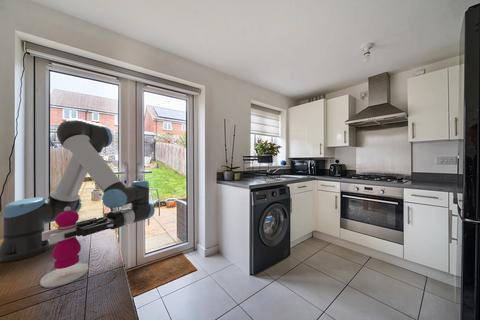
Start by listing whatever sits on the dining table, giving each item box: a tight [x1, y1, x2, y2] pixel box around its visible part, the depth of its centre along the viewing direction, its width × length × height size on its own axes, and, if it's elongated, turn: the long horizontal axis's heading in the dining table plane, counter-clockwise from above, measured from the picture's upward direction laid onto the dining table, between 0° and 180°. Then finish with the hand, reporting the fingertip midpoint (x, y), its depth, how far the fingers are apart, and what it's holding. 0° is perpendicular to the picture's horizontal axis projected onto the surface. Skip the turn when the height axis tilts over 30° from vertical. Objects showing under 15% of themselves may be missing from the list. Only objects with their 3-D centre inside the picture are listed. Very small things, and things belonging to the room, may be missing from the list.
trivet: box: [39, 263, 89, 289], centre depth 63 cm, size 12×12×1 cm
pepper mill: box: [52, 207, 82, 270], centre depth 63 cm, size 7×7×20 cm
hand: (46, 237), depth 59 cm, fingers closed on pepper mill, 5 cm apart
